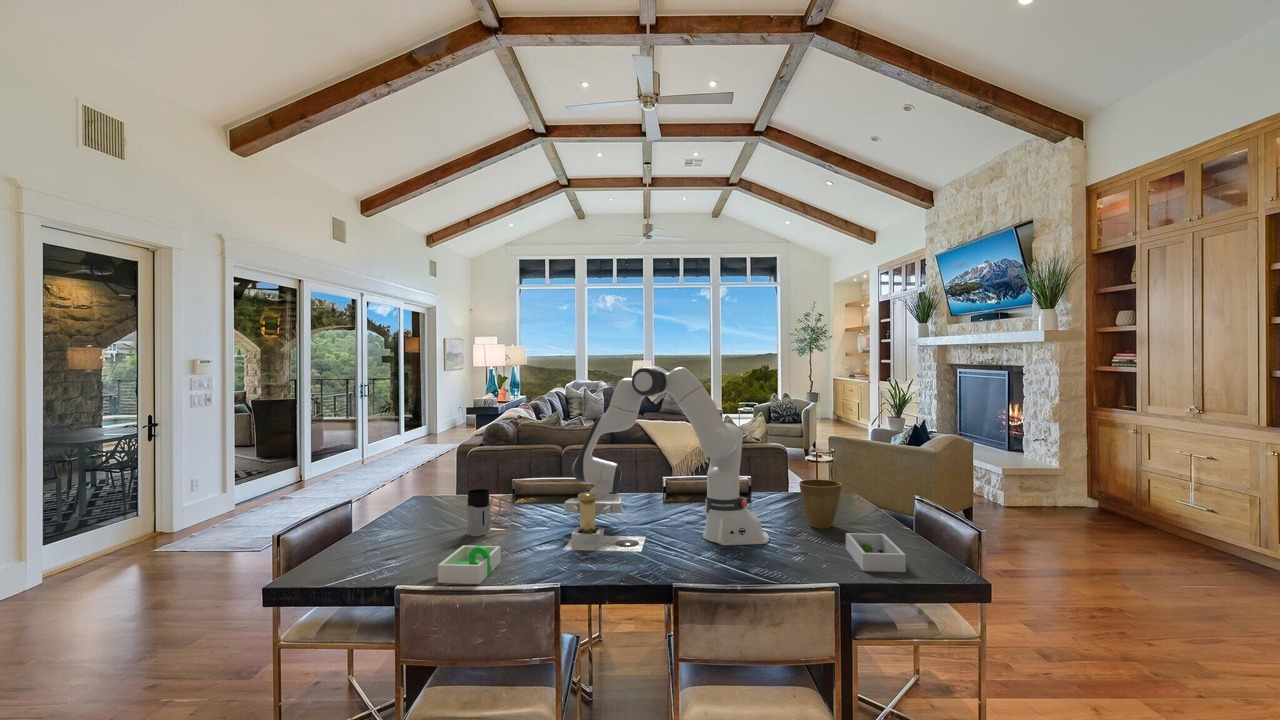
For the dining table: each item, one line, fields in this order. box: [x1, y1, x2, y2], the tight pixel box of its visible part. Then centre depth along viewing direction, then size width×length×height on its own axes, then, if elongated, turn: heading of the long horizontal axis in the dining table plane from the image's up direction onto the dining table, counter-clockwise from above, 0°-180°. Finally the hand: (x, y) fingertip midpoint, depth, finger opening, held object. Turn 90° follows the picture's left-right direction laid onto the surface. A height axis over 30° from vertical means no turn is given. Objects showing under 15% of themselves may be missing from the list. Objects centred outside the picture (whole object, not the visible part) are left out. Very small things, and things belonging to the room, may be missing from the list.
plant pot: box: [798, 478, 842, 530], centre depth 224 cm, size 15×15×16 cm
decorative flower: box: [856, 539, 881, 553], centre depth 185 cm, size 8×6×15 cm
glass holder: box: [466, 488, 502, 537], centre depth 218 cm, size 9×14×15 cm, turn 64°
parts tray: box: [437, 544, 502, 585], centre depth 179 cm, size 12×18×5 cm, turn 174°
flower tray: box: [845, 532, 907, 573], centre depth 186 cm, size 12×21×5 cm, turn 174°
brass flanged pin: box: [577, 491, 597, 533], centre depth 201 cm, size 6×6×16 cm
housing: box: [563, 526, 647, 553], centre depth 201 cm, size 25×16×6 cm, turn 84°
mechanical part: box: [456, 545, 492, 576], centre depth 179 cm, size 12×6×8 cm, turn 87°
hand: (589, 511), depth 205 cm, fingers open, 8 cm apart
